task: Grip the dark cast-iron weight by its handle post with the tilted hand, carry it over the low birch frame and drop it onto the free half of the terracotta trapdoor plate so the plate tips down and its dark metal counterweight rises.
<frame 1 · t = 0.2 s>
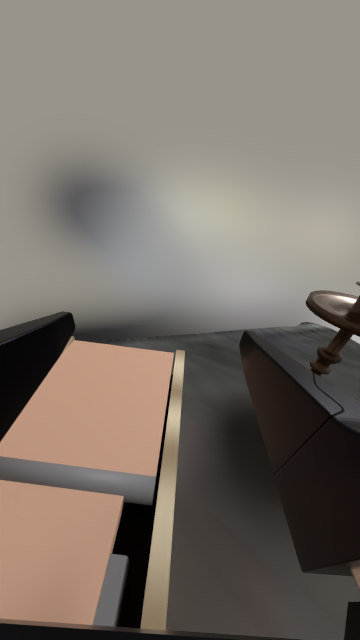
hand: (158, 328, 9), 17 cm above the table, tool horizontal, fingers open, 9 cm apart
trapdoor: (84, 440, 16), point 3 cm above the table, hinge at 0.0°
trapdoor frame: (73, 496, 15), on the table
candlestick: (302, 389, 28), on the table
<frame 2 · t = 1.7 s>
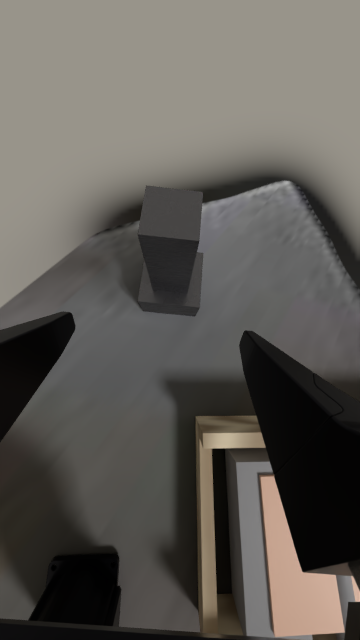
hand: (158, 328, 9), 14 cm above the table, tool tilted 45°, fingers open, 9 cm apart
trapdoor: (352, 526, 16), point 3 cm above the table, hinge at 0.0°
trapdoor frame: (296, 500, 19), on the table
iron weight: (171, 289, 24), on the table
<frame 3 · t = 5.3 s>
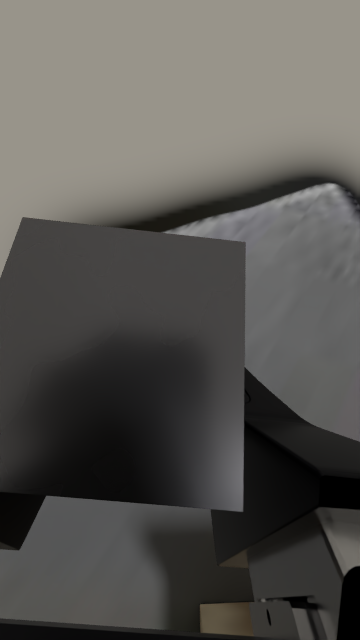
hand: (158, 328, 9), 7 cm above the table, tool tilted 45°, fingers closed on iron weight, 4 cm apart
iron weight: (162, 358, 15), on the table, touching gripper
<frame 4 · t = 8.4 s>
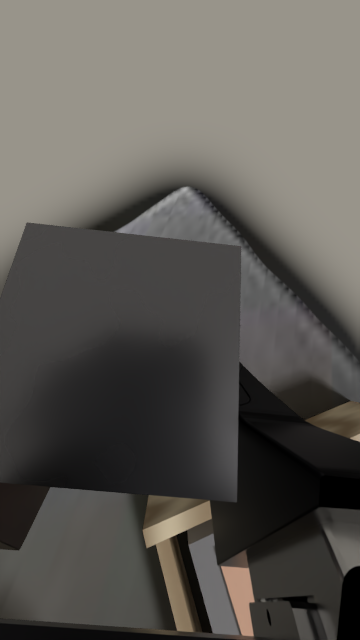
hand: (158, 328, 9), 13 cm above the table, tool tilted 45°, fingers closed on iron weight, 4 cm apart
trapdoor: (326, 553, 16), point 3 cm above the table, hinge at 0.0°
trapdoor frame: (275, 532, 18), on the table
iron weight: (162, 357, 15), point 7 cm above the table, touching gripper
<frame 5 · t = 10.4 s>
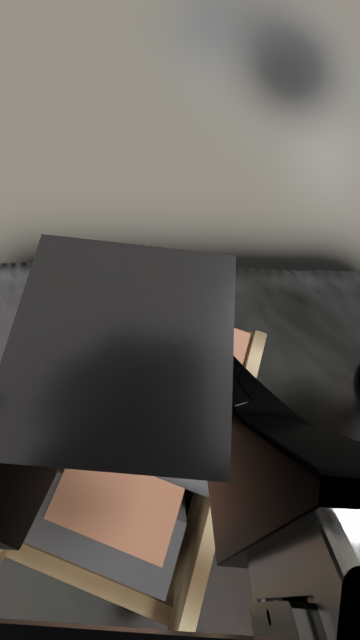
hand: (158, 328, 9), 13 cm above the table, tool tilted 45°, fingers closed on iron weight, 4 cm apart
trapdoor: (148, 416, 17), point 3 cm above the table, hinge at 0.0°
trapdoor frame: (142, 434, 20), on the table
iron weight: (162, 356, 16), point 6 cm above the table, touching gripper
when the fingers open (13 cm above the table, at t = 11.6 s): iron weight drops 4 cm, resting on trapdoor.
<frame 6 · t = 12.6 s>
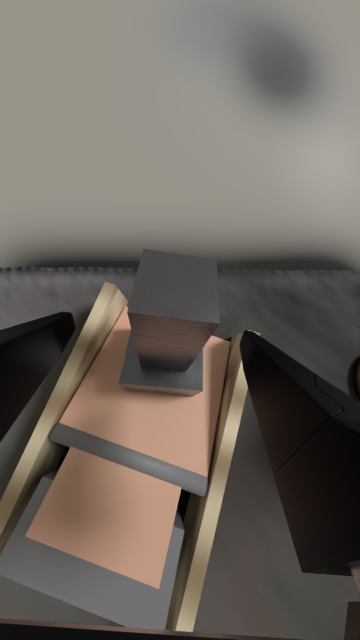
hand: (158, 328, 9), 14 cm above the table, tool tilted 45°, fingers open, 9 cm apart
trapdoor: (143, 419, 18), point 2 cm above the table, hinge at -16.7°, touching iron weight
trapdoor frame: (138, 436, 20), on the table
iron weight: (163, 360, 20), point 2 cm above the table, tilted 17°, touching trapdoor
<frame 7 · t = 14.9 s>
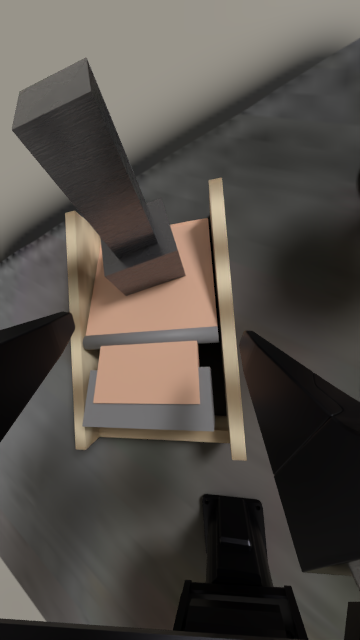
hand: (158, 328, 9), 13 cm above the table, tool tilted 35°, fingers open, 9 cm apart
trapdoor: (153, 315, 20), point 2 cm above the table, hinge at -16.7°, touching iron weight
trapdoor frame: (161, 335, 22), on the table
iron weight: (149, 261, 20), point 2 cm above the table, tilted 17°, touching trapdoor
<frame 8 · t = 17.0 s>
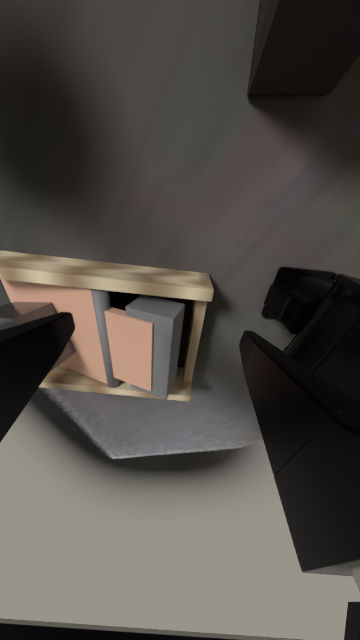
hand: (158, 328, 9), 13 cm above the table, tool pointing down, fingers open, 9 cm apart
trapdoor: (94, 332, 23), point 2 cm above the table, hinge at -16.7°, touching iron weight
trapdoor frame: (120, 324, 25), on the table
iron weight: (45, 327, 23), point 2 cm above the table, tilted 17°, touching trapdoor
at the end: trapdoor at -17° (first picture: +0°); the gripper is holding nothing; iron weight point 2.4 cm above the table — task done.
